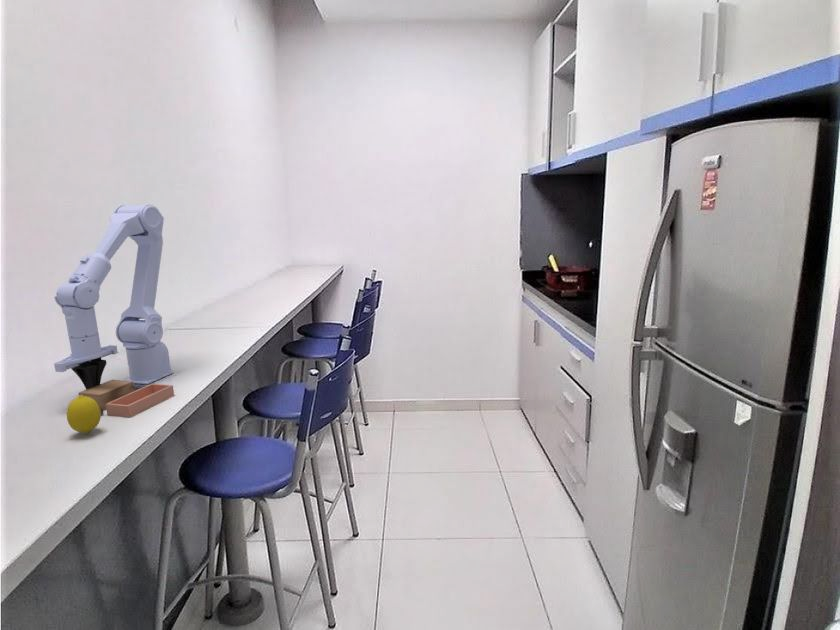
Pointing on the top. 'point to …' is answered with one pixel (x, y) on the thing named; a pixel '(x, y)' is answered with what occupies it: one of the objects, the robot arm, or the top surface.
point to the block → (108, 391)
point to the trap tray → (139, 400)
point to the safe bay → (134, 390)
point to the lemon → (83, 414)
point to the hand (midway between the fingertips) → (93, 392)
